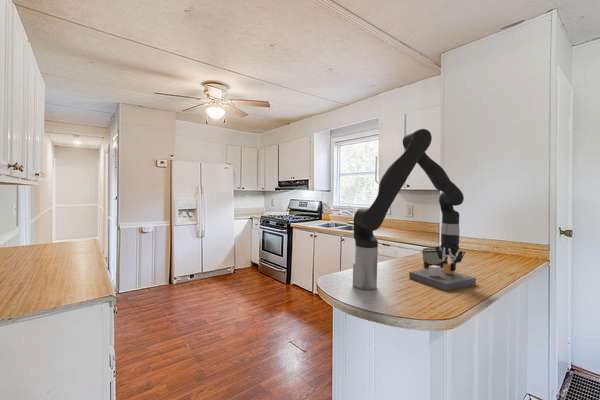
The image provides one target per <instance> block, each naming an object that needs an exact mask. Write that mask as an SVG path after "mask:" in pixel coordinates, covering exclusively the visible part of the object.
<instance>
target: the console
mask: <svg viewBox="0 0 600 400" xmlns="http://www.w3.org/2000/svg"><path fill="white" fill-rule="evenodd" d="M408 276H409V279H411V280H413V281H417V282H420V283H422V284H426V285H428V286H430V287H434V288H437V289H440V290H443V291H445V292H449V291H454V290H458V289H462V288H466V287H471V286H475V285H476V283H477V277H474V276H470V275H466V274H464V273H459V272H455V273H452V274H447V273H444V272H443V269H441V273H440V276H435V277H434V276H431V275H429V268H423V269H417V270H413V271H412V270H411V271H409V275H408Z"/></svg>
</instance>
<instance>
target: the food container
mask: <svg viewBox="0 0 600 400" xmlns="http://www.w3.org/2000/svg"><path fill="white" fill-rule="evenodd" d="M442 252H443V250H442ZM421 254H422V259H423V261H422V262H423V269H429V266H432V265H436V266H440V267H441V269H443V261H442V260H441V259H439V257H438V254H437V251H436V248H435V247H434V248H433V247H424V248H422V250H421Z"/></svg>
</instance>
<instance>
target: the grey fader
mask: <svg viewBox="0 0 600 400" xmlns="http://www.w3.org/2000/svg"><path fill="white" fill-rule="evenodd" d="M428 269H429V275H431V276H434V277H435V276H440V273H441V267H440V266H436V265H432V266H429V268H428Z"/></svg>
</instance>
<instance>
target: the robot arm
mask: <svg viewBox="0 0 600 400" xmlns="http://www.w3.org/2000/svg"><path fill="white" fill-rule="evenodd" d="M431 144H432V133H431V131H429V130H428V129H426V128H419V129H417V130H416V129H415V130H413V131H410V132H409V133H407V134H405V135H404V136H403V138H402V147H403V148H404V150H405V151H404V152H402V154H401V155H400V156H399V157H397V158H396V159H395V161H393V162H392V163H391V164H390V165H389V167H388V168H387V169H386V170H385V172H384V174H383V175H382V176H381V179H380V181H379V186H378V191H377V192H378V193H377V196H376V198H375V199H374V201H373V202H372V203H371V205H370V207H368V208H367V207H361V208H358V209H357V210H356V211H355V213H354V215H353V216H354V217H353V239H354V241H355V246H354V247H355V251H354V254H355V255H354V259H355V260H354V262H353V264H352V286H354V287H355V288H357V289H359V290H361V291H362V290H368V291H369V290H370V291H371V290H375V289H376V288H377V287H378V285H377V284H378V253H379V251H378V250H379V242H378V239H377V238H376V237H375V235H374V231H377V230H379V228H380V227H381V226H382V224H383V222H384V220H385V218H386V216H387V214H388V213H389V209H390V207H391V205H392V203H393V202H394V201H395V199H396V197H397V196H398V194H399V193H400V191H401V189H402V188H403V186H404V185H405V183H406V181H407V180H408V178H409V176H410V175H411V173H412V172H413V170H414V168H415V166H416V165H417V164H418V166H419V167H420V168H421V169H422V170H423V171H424V173H425V174H426V176H427V177H428V178H429V180H430V182H431V183H432V186H433V187H434V188H435V189H436V190H437V191H440V192H441V193H440V194H439V196H438V197H439V198H438V201H439V202H438V203H439V207H440V211H441V228H440V243H441V244H440V246H439V245H438V246H435V247H434V248H435V249H436V251H437V254H438V257H439V259H441V260H442V261H443V264H446V263H449V261H448V260H449V258H450V263H451V271H456V269H457V264H458V263H461V262H462V261H463V260H462V259H464V257H465V254H466V251H464V250H462V249H460V246H459V245H460V213H459V211H457V210H455V209H454V207H455V206H460V205H462V204H463V203H464V197H465V196H464V194H463V192H462V191H461V189H460V188H459V187H458V186H457V185H456V184H455V183H454V182H453V181H451V179H450V177H449V176H448V174H447V172H446V171H445V169H443V167H442V166H441V165H439V163H437V162H436V161H435V160H433V159H432V158H431V157H430V156H429V155H428V154H427V153H426V151H427V150H428V149H429V147H430V146H431ZM442 250H443V252H442Z"/></svg>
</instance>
